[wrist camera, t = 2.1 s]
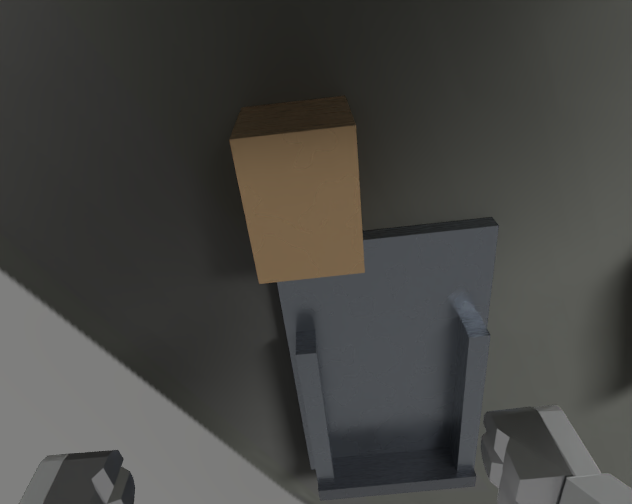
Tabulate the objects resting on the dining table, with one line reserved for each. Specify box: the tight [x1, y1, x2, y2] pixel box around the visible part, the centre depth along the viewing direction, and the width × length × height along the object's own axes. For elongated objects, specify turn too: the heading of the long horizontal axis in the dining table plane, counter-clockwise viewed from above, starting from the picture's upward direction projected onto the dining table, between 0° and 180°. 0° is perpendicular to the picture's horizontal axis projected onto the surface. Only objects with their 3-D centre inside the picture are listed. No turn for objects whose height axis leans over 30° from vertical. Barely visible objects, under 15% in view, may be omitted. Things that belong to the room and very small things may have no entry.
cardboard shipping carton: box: [229, 96, 365, 284], centre depth 22 cm, size 5×7×5 cm
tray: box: [277, 217, 499, 501], centre depth 30 cm, size 12×20×4 cm, turn 6°
